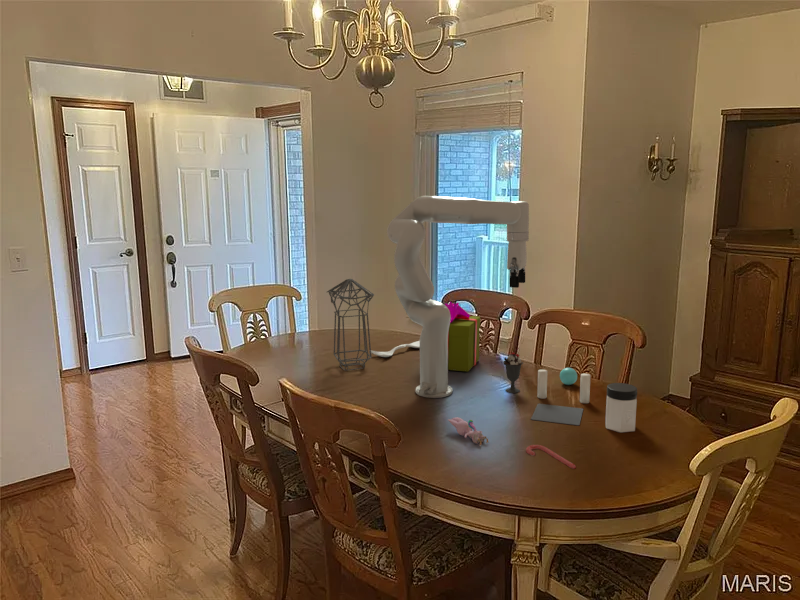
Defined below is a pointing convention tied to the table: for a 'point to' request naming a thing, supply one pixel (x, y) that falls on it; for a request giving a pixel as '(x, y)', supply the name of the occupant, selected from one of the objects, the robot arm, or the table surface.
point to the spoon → (390, 353)
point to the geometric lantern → (368, 295)
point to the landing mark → (557, 414)
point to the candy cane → (549, 454)
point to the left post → (542, 384)
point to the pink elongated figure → (468, 430)
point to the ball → (568, 376)
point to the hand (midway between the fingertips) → (517, 284)
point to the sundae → (513, 370)
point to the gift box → (462, 339)
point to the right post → (584, 388)
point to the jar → (621, 407)
